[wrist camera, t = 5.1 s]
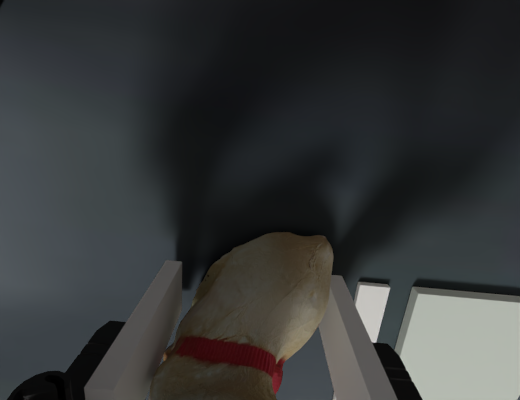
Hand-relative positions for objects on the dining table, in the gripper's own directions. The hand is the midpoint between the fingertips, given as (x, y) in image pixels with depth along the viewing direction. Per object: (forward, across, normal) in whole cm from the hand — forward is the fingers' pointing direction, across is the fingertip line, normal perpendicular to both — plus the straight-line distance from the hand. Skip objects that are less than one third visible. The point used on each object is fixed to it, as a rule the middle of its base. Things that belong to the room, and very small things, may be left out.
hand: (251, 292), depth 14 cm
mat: (+1, +12, -7) cm, 14 cm away
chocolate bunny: (+1, 0, 0) cm, 1 cm away
